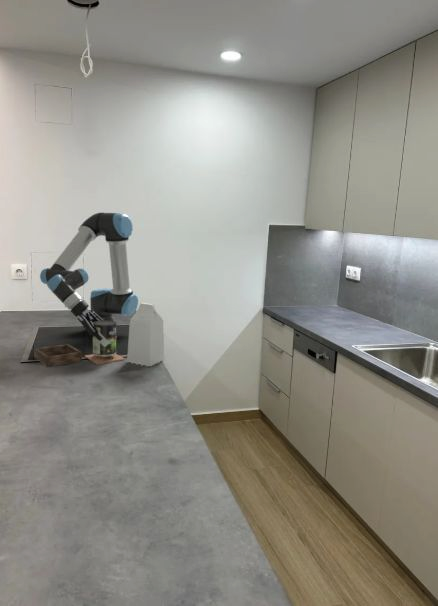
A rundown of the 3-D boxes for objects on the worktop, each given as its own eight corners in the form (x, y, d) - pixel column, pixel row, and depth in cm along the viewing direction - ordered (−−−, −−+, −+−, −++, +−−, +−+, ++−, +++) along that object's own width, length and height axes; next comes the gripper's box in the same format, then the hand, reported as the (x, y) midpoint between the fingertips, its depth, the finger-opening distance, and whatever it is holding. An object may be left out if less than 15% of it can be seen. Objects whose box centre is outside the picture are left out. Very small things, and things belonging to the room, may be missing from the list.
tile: (110, 352, 215) (110, 351, 215) (124, 359, 206) (124, 358, 205) (84, 356, 207) (84, 355, 207) (97, 364, 197) (97, 363, 197)
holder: (68, 352, 212) (68, 343, 212) (82, 361, 201) (82, 352, 200) (34, 357, 203) (34, 348, 202) (46, 366, 191) (46, 357, 190)
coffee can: (119, 351, 210) (120, 321, 207) (110, 357, 200) (110, 326, 197) (98, 349, 212) (99, 319, 209) (88, 355, 202) (88, 324, 199)
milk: (164, 360, 208) (165, 303, 203) (150, 366, 198) (151, 307, 193) (141, 355, 213) (142, 300, 208) (126, 362, 202) (127, 304, 198)
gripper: (80, 305, 215) (113, 340, 216) (59, 315, 193) (96, 354, 194) (91, 295, 213) (124, 330, 215) (72, 303, 191) (108, 343, 193)
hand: (111, 341), depth 205 cm, fingers closed on coffee can, 10 cm apart
